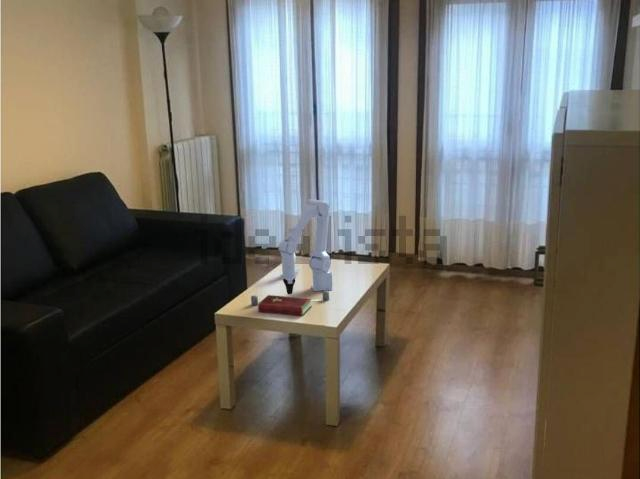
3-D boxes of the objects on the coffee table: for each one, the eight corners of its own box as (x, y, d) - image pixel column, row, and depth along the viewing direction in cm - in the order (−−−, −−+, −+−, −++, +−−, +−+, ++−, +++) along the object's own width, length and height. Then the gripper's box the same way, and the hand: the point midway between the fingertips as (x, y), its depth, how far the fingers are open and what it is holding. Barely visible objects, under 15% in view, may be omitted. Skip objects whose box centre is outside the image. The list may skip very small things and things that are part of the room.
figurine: (301, 273, 346) (299, 246, 342) (297, 279, 337) (295, 250, 333) (287, 273, 347) (286, 245, 343) (283, 278, 338) (282, 250, 334)
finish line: (328, 298, 306) (328, 290, 305) (329, 300, 303) (329, 292, 302) (251, 303, 302) (250, 295, 301) (251, 306, 299) (251, 297, 298)
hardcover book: (302, 316, 285) (302, 307, 284) (258, 312, 291) (257, 303, 290) (311, 306, 296) (311, 298, 295) (268, 303, 302) (268, 294, 301)
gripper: (278, 262, 310) (280, 289, 313) (280, 271, 296) (282, 299, 299) (293, 261, 311) (294, 288, 314) (296, 270, 297) (297, 298, 300)
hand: (289, 293), depth 307 cm, fingers closed
